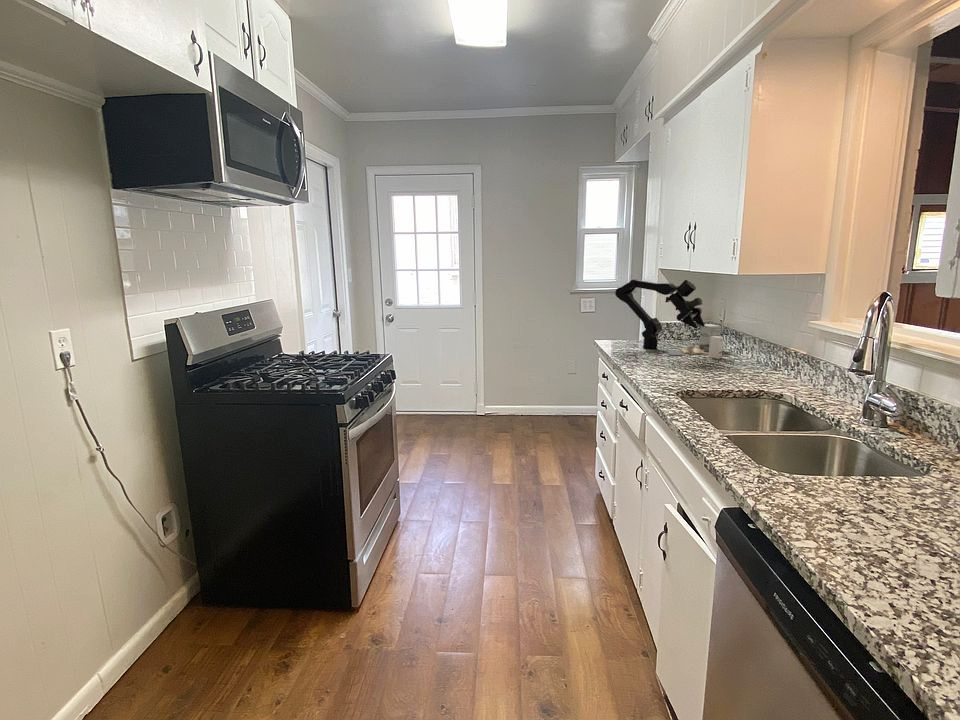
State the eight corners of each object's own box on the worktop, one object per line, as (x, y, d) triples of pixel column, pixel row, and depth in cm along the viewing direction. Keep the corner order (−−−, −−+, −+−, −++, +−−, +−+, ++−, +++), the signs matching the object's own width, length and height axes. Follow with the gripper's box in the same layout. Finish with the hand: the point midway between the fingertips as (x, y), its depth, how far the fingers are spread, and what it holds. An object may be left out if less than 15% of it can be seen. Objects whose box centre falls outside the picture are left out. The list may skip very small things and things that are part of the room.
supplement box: (698, 347, 280) (700, 324, 277) (709, 347, 282) (711, 323, 279) (707, 350, 273) (710, 326, 270) (719, 349, 275) (721, 325, 272)
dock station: (684, 353, 262) (685, 346, 261) (679, 349, 275) (679, 341, 274) (723, 355, 259) (724, 347, 258) (716, 350, 271) (717, 343, 271)
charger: (708, 357, 254) (710, 336, 252) (711, 355, 258) (713, 335, 256) (718, 358, 251) (720, 338, 249) (721, 357, 255) (723, 336, 252)
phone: (669, 356, 257) (669, 354, 257) (665, 352, 269) (665, 350, 269) (682, 357, 256) (683, 355, 256) (678, 352, 268) (678, 350, 267)
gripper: (684, 293, 251) (706, 317, 246) (699, 291, 264) (720, 314, 259) (667, 308, 258) (688, 332, 253) (682, 306, 271) (702, 329, 266)
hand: (700, 326), depth 257 cm, fingers open, 9 cm apart
